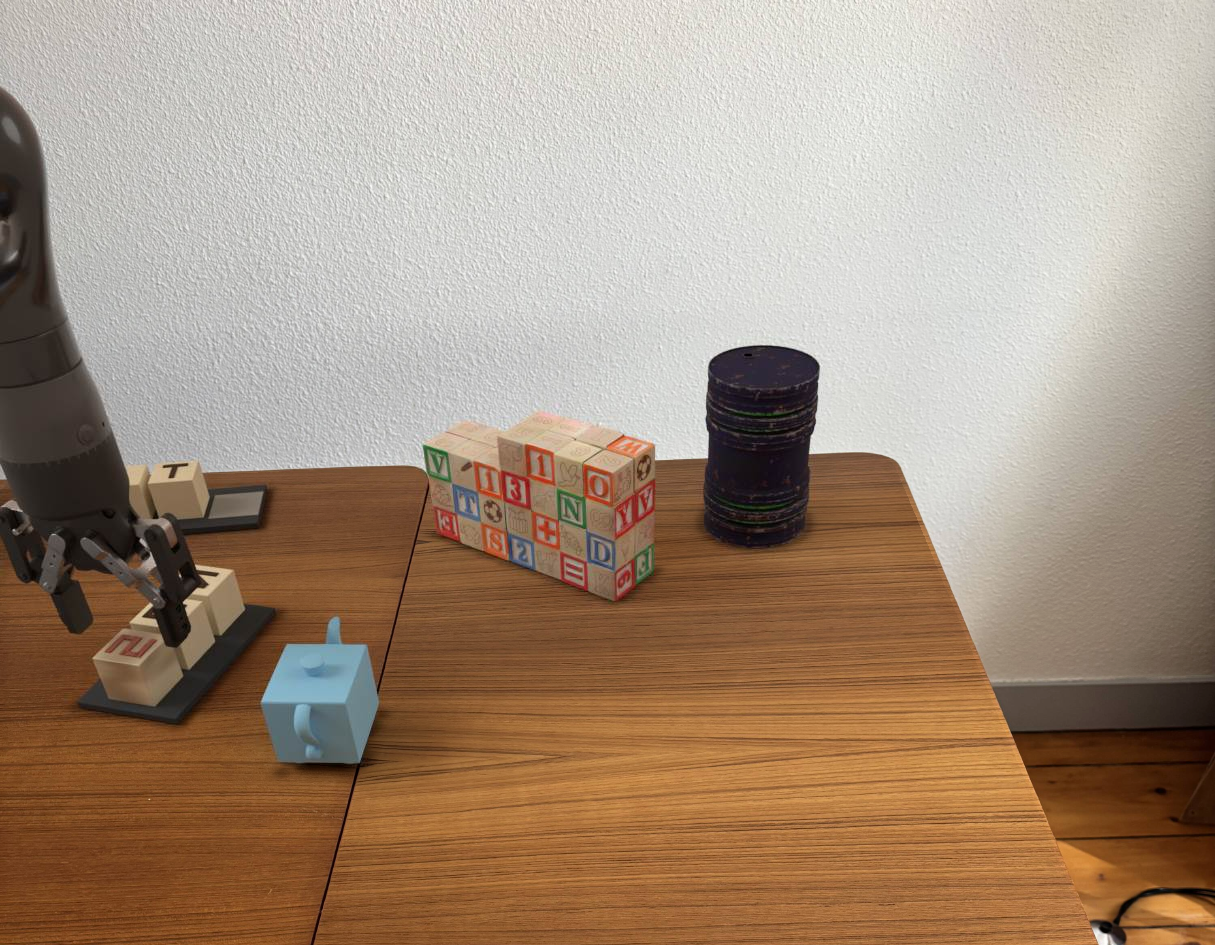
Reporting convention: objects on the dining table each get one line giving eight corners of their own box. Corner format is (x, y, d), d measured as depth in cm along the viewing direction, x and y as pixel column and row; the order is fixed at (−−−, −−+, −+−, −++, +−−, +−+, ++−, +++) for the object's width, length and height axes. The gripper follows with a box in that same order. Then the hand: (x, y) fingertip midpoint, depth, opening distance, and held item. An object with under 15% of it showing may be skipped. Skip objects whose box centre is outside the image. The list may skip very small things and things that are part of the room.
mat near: (78, 707, 90) (57, 659, 87) (186, 600, 101) (171, 553, 98) (177, 725, 88) (159, 675, 85) (276, 613, 99) (264, 566, 96)
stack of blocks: (434, 535, 108) (415, 410, 100) (477, 508, 112) (462, 385, 103) (616, 602, 99) (613, 470, 90) (656, 570, 102) (656, 441, 94)
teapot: (315, 685, 91) (294, 606, 86) (389, 686, 91) (373, 606, 86) (275, 785, 82) (249, 703, 77) (357, 786, 82) (337, 703, 77)
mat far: (101, 541, 109) (84, 496, 106) (118, 501, 115) (103, 458, 112) (258, 528, 110) (246, 483, 107) (267, 489, 116) (256, 446, 113)
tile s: (108, 699, 90) (91, 656, 87) (138, 669, 93) (122, 626, 90) (155, 707, 89) (138, 664, 86) (183, 676, 92) (168, 633, 89)
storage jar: (825, 534, 106) (843, 376, 96) (732, 558, 104) (739, 398, 93) (774, 489, 113) (785, 336, 103) (685, 510, 110) (687, 356, 100)
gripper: (174, 418, 77) (236, 619, 88) (-1, 402, 81) (80, 598, 92) (110, 468, 72) (184, 675, 83) (-75, 448, 75) (21, 650, 86)
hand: (129, 635), depth 87 cm, fingers open, 8 cm apart
